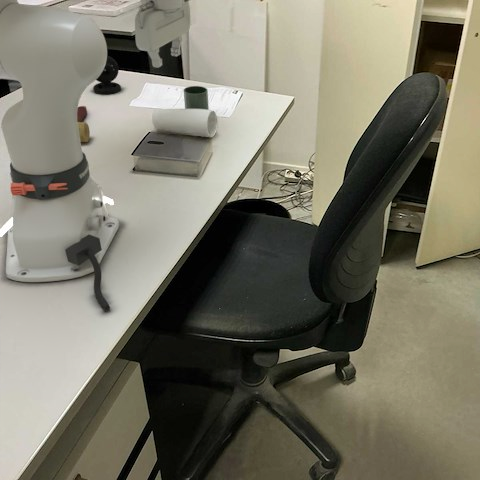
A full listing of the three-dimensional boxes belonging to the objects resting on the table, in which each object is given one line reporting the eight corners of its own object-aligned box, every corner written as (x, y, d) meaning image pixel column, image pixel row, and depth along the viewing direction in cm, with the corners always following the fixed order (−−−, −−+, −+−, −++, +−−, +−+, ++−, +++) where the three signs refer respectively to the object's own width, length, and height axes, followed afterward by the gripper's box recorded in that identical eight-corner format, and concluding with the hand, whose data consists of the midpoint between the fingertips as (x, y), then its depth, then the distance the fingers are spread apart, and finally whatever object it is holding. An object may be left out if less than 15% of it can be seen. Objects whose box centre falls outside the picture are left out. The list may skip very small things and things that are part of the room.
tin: (209, 123, 144) (207, 94, 140) (186, 124, 143) (183, 94, 139) (208, 114, 149) (207, 85, 144) (186, 115, 148) (183, 86, 143)
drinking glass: (163, 128, 143) (218, 133, 140) (151, 135, 137) (207, 141, 134) (161, 102, 140) (216, 107, 137) (148, 108, 134) (206, 113, 131)
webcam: (95, 96, 155) (89, 60, 149) (90, 87, 160) (84, 52, 155) (124, 92, 158) (119, 57, 153) (118, 84, 164) (113, 50, 158)
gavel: (63, 98, 144) (103, 99, 145) (66, 115, 146) (105, 115, 147) (37, 125, 126) (83, 126, 127) (41, 144, 128) (86, 144, 130)
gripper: (151, 8, 112) (158, 75, 119) (193, -9, 128) (197, 51, 136) (123, 4, 113) (132, 72, 120) (168, -12, 129) (173, 48, 137)
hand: (167, 60), depth 128 cm, fingers open, 8 cm apart
